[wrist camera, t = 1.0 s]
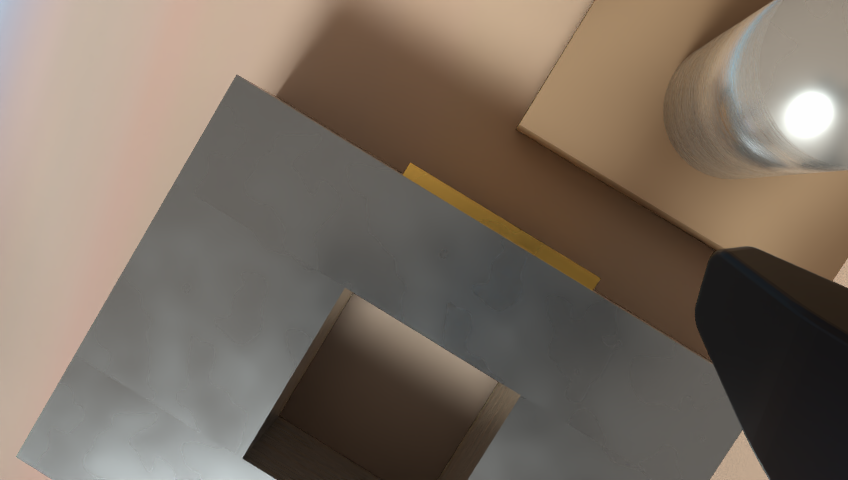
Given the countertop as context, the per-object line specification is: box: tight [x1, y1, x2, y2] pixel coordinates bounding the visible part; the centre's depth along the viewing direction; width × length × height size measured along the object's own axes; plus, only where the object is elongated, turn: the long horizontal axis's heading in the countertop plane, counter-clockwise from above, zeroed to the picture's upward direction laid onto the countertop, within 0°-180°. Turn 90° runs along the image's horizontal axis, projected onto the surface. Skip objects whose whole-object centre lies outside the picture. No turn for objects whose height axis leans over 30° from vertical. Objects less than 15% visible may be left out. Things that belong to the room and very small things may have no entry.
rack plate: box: [16, 75, 742, 480], centre depth 22 cm, size 16×12×4 cm
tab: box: [516, 0, 848, 281], centre depth 22 cm, size 10×7×2 cm
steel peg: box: [663, 0, 848, 179], centre depth 18 cm, size 4×4×7 cm
